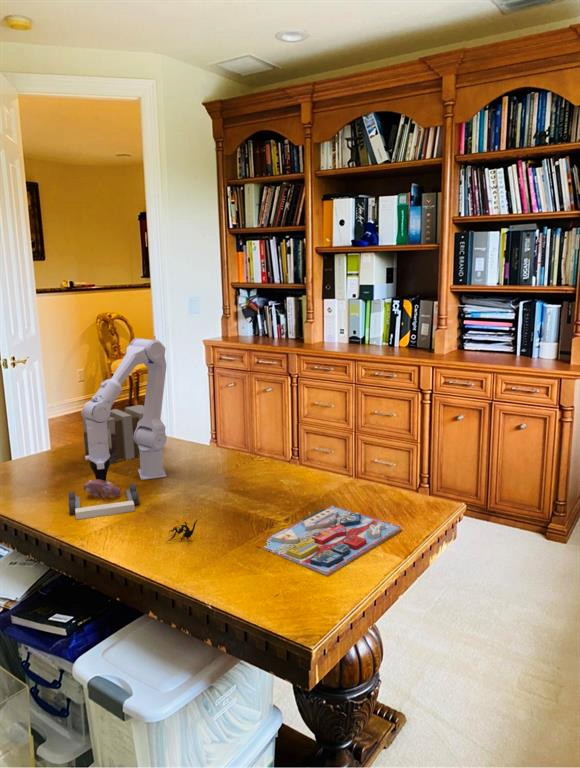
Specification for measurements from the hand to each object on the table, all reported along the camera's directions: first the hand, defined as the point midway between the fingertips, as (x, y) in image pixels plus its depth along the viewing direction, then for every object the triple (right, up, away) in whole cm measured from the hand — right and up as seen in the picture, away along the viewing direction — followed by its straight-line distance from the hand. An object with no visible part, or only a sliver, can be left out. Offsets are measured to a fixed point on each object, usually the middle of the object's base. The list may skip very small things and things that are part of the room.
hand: (101, 484), depth 183 cm
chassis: (+4, -4, -10) cm, 11 cm away
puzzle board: (+66, -9, -31) cm, 74 cm away
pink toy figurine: (+1, -3, -3) cm, 5 cm away
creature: (+29, -9, -30) cm, 43 cm away
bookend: (-4, +4, +36) cm, 36 cm away
